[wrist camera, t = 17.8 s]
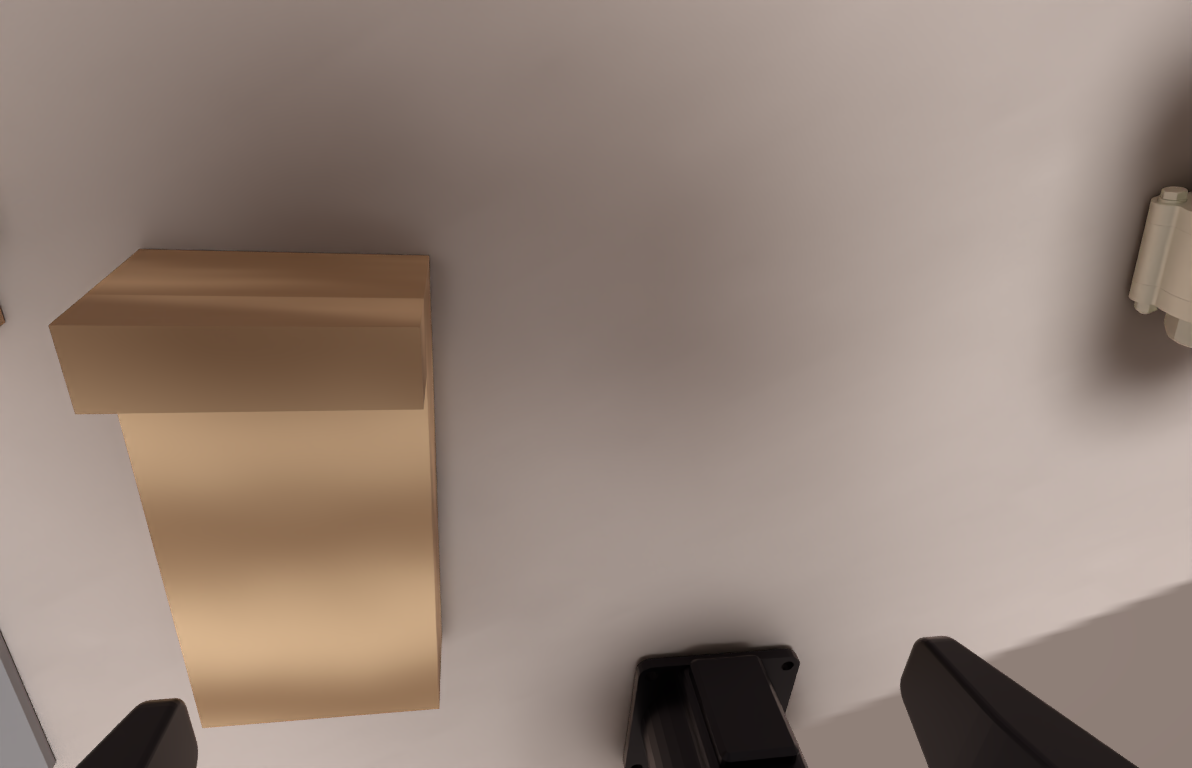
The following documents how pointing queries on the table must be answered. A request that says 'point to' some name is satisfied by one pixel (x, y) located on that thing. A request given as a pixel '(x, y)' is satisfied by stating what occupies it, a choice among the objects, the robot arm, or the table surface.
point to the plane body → (278, 469)
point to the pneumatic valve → (1167, 263)
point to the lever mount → (1, 318)
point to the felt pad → (19, 722)
